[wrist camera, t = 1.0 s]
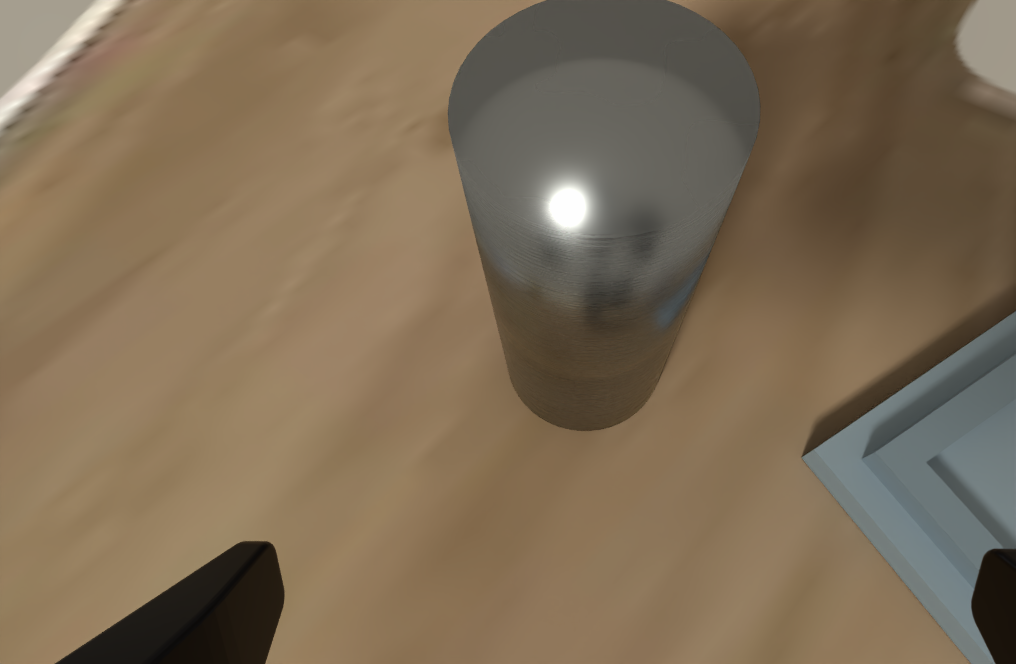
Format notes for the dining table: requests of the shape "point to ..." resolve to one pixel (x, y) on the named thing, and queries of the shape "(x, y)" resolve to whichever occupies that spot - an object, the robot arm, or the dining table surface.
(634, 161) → the grey shiny round cylinder
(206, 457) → the dining table surface
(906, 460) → the plate
